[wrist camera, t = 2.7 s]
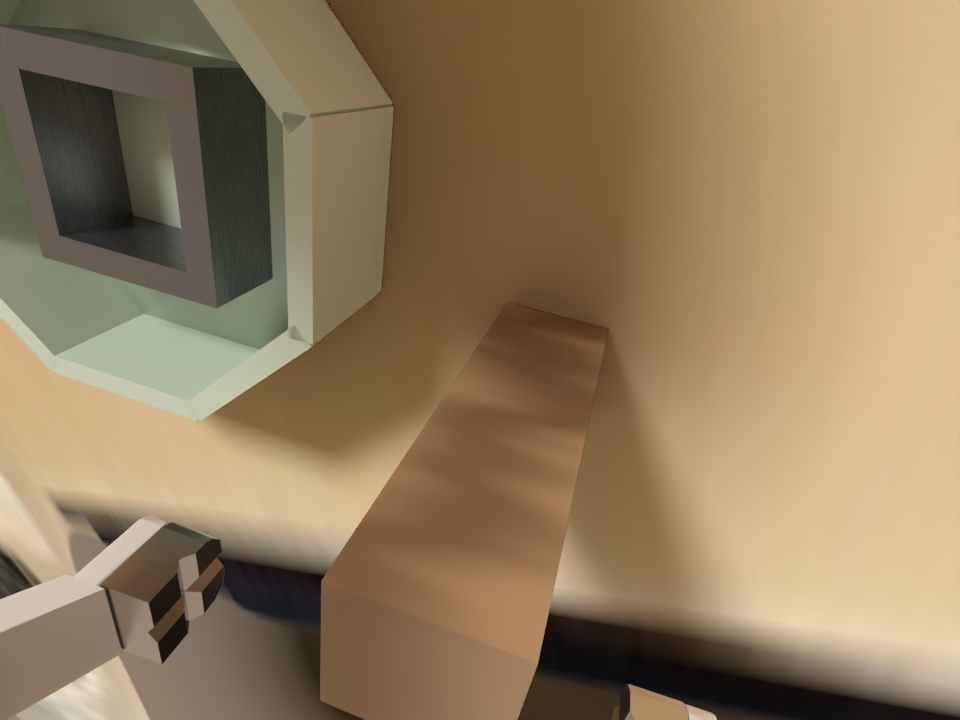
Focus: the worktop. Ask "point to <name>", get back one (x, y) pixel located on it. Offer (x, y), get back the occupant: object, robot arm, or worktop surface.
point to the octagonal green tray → (151, 181)
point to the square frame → (101, 171)
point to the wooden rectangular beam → (466, 536)
